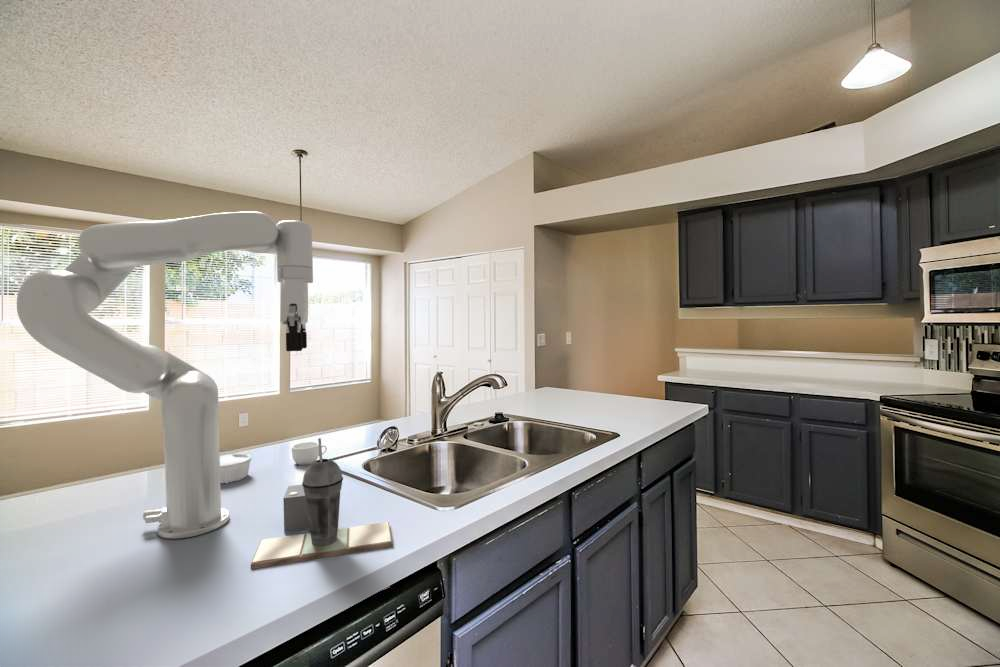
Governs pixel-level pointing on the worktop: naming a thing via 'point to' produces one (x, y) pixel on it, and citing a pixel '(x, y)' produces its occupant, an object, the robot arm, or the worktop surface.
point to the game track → (303, 548)
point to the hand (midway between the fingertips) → (297, 349)
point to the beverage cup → (323, 499)
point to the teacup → (306, 452)
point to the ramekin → (234, 467)
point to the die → (295, 509)
